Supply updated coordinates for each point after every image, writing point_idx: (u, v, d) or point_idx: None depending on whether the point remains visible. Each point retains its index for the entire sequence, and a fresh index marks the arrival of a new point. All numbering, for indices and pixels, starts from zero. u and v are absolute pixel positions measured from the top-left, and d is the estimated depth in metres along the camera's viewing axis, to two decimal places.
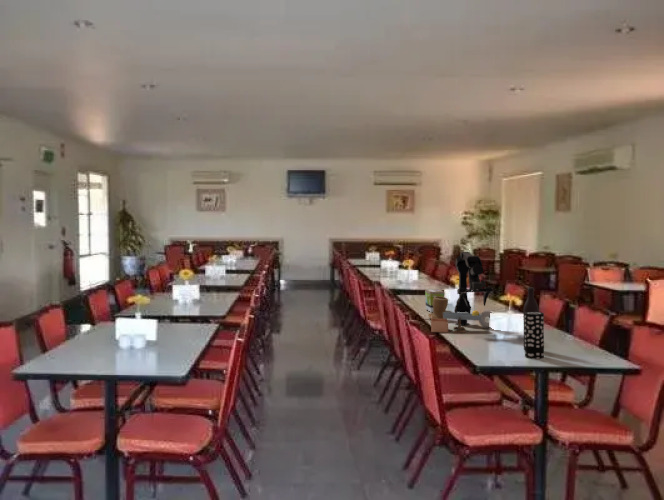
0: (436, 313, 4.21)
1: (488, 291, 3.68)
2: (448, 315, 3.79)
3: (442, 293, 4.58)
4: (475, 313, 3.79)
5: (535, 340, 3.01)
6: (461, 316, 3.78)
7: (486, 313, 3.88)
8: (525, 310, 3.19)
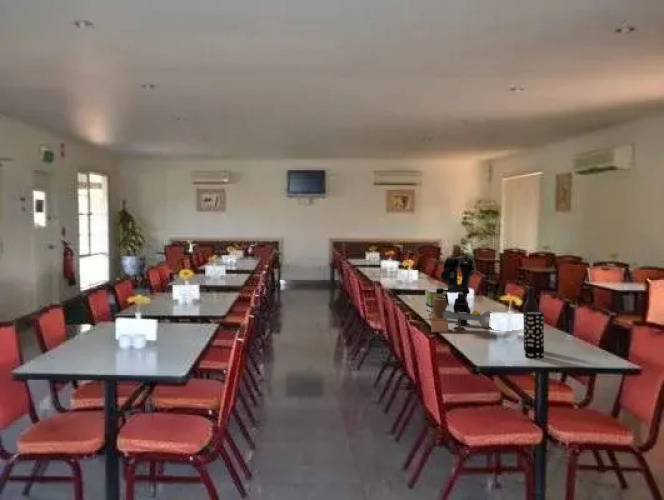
0: (436, 313, 4.21)
1: (464, 293, 3.87)
2: (448, 315, 3.79)
3: (442, 293, 4.59)
4: (475, 313, 3.79)
5: (535, 340, 3.01)
6: (461, 316, 3.78)
7: (486, 313, 3.88)
8: (525, 310, 3.19)
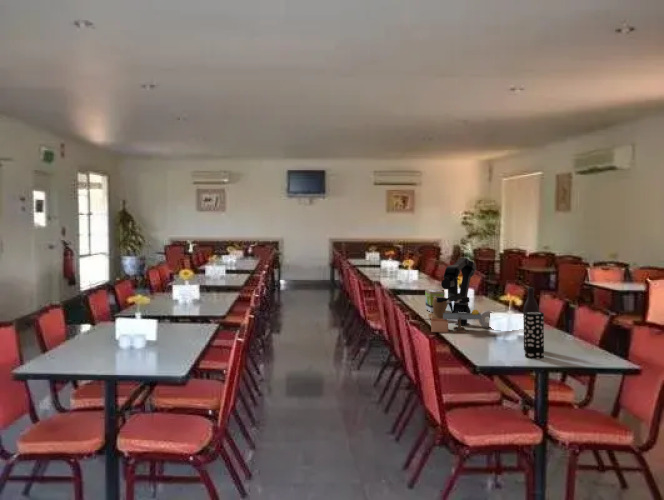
0: (436, 313, 4.21)
1: (464, 302, 3.88)
2: (448, 316, 3.79)
3: (442, 293, 4.59)
4: (475, 312, 3.79)
5: (535, 340, 3.01)
6: (461, 316, 3.78)
7: (486, 313, 3.88)
8: (525, 310, 3.19)
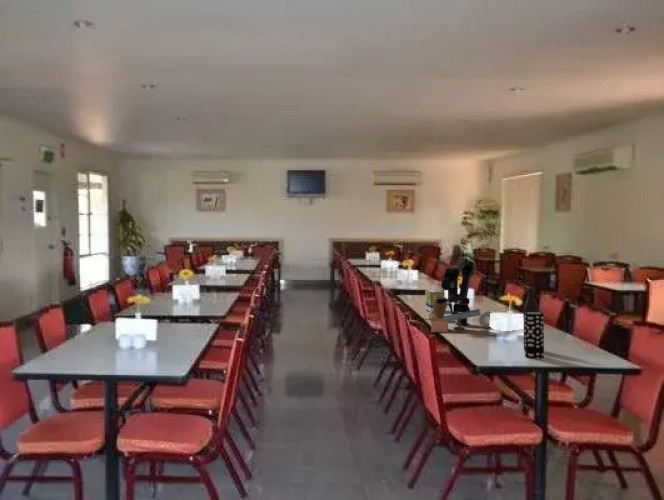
0: (436, 313, 4.21)
1: (464, 303, 3.88)
2: (448, 318, 3.79)
3: (442, 293, 4.58)
4: None
5: (535, 340, 3.01)
6: (461, 316, 3.78)
7: (486, 313, 3.88)
8: (525, 310, 3.19)
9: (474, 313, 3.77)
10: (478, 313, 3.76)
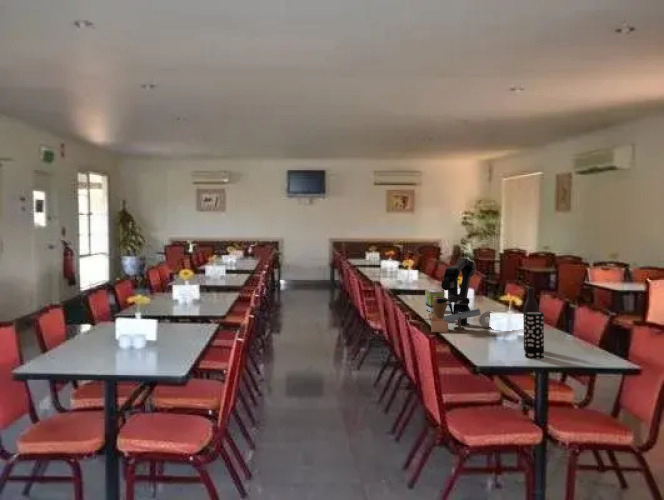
0: (436, 313, 4.21)
1: (464, 303, 3.88)
2: (448, 318, 3.79)
3: (442, 293, 4.59)
4: None
5: (535, 340, 3.01)
6: (461, 316, 3.78)
7: (486, 313, 3.88)
8: (525, 310, 3.19)
9: (474, 313, 3.77)
10: (478, 313, 3.76)
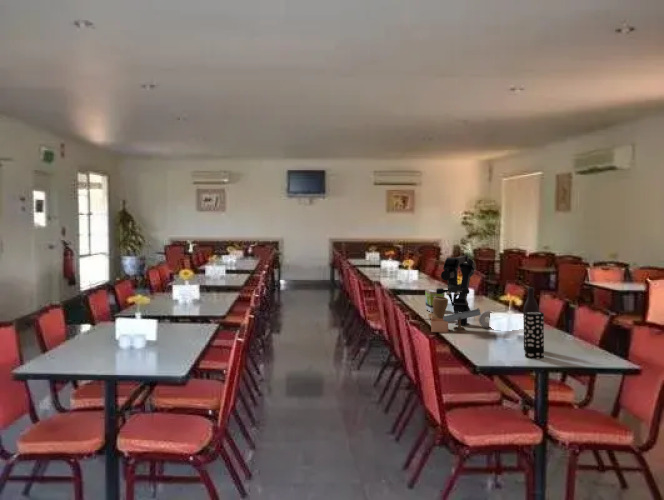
0: (436, 313, 4.21)
1: (464, 293, 3.87)
2: (448, 318, 3.79)
3: (442, 293, 4.58)
4: None
5: (535, 340, 3.01)
6: (461, 316, 3.78)
7: (486, 313, 3.88)
8: (525, 310, 3.19)
9: (474, 313, 3.77)
10: (478, 313, 3.76)
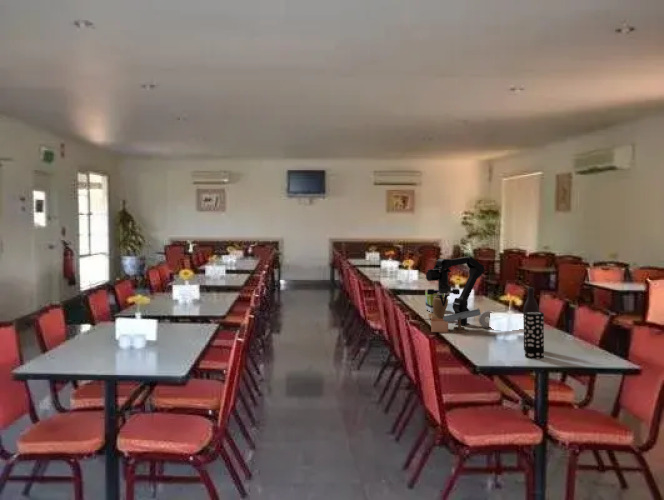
0: (436, 313, 4.21)
1: None
2: (448, 318, 3.79)
3: (442, 293, 4.59)
4: None
5: (535, 340, 3.01)
6: (461, 316, 3.78)
7: (486, 313, 3.88)
8: (525, 310, 3.19)
9: (474, 313, 3.77)
10: (478, 313, 3.76)
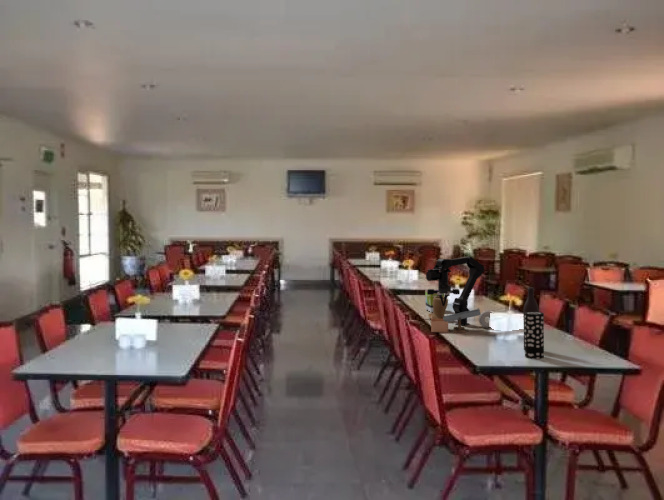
0: (436, 313, 4.21)
1: None
2: (448, 318, 3.79)
3: (442, 293, 4.58)
4: None
5: (535, 340, 3.01)
6: (461, 316, 3.78)
7: (486, 313, 3.88)
8: (525, 310, 3.19)
9: (474, 313, 3.77)
10: (478, 313, 3.76)
